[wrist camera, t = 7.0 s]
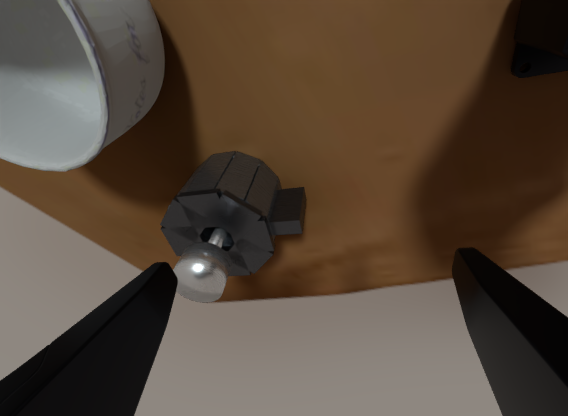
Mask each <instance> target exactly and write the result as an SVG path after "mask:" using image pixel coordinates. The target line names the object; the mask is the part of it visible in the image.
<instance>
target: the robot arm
mask: <svg viewBox="0 0 568 416" xmlns="http://www.w3.org/2000/svg"><path fill="white" fill-rule="evenodd" d="M514 39H515V40H516V41H517V43H516V48H515V52H514V56H513V61H512V65H511V73H512V74H513V75H514V76H516V77H519V78H525V77H531V76H537V75H543V74H549V73H556V72H562V71H568V0H522V4H521V9H520V13H519V17H518V22H517V26H516V31H515V35H514ZM524 63H527V66H526V68H525V69H524V70H522V71H520V67H521V66H522V65H523V64H524ZM452 275H453V279H454V283H455V286H456V290H457V294H458V297H459V301H460V305H461V308H462V312H463V315H464V319H465V322H466V326H467V329H468V331H469V334H470V337H471V339H472V342H473V344H474V347H475V349H476V351H477V354H478V356H479V358H480V361H481V364H482V366H483V369H484V371H485V373H486V376H487V378H488V381H489V383H490V386H491V388H492V391H493V393H494V396H495V398H496V400H497V403H498V405H499V408H500V410H501V413H502V415H503V416H568V317H566V316H565V315H564V314H562V313H561V312H560V311H558V310H557V309H556V308H554V307H553V306H552V305H550V304H549V303H548V302H546V301H545V300H544V299H542V298H541V297H540V296H538V295H537V294H536V293H534V292H533V291H532V290H530V289H529V288H528V287H526V286H525V285H524V284H522V283H521V282H519V281H518V280H517V279H515V278H514V277H513V276H512V275H510V274H509V273H507V272H506V271H505V270H503V269H502V268H501V267H499V266H498V265H497V264H495V263H494V262H493V261H491V260H490V259H489V258H487V257H486V256H485V255H483V254H482V253H481V252H479V251H478V250H477V249H475V248H472V247H470V248H458V249H456V251H455V256H454V261H453V266H452ZM177 285H178V278H177V276H176V274H175V273H174V271H173V270H172V268H171V267H170V265H169V264H168V263H167V262H157V263H154V264H153V265H151V266H150V267H149V268H147V269H146V270H145V271H143V272H142V273H141V274H140V275H138V276H137V277H136V278H134V279H133V280H132V281H131V282H129V283H128V284H127V285H125V286H124V287H123V288H121V289H120V290H119V291H118V292H116V293H115V294H114V295H112V296H111V297H110V298H109V299H107V300H106V301H105V302H103V303H102V304H101V305H100V306H98V307H97V308H96V309H94V310H93V311H92V312H90V313H89V314H88V315H86V316H85V317H84V318H83V319H81V320H80V321H79V322H77V323H76V324H75V325H73V326H72V327H71V328H70V329H68V330H67V331H66V332H64V333H63V334H62V335H61V336H59V337H58V338H57V339H55V340H54V341H53V342H52V343H51V344H50V345H47V346H46V347H45V348H44V349H42V350H41V351H40V352H38V353H37V354H36V355H35V356H33V357H32V358H31V359H29V360H28V361H27V362H25V363H24V364H23V365H21V366H20V367H19V368H17V369H16V370H15V371H13V372H12V373H10V374H9V375H8V376H6V377H5V378H3V379H2V380H1V381H0V416H134V414H135V411H136V408H137V406H138V403H139V400H140V398H141V395H142V392H143V390H144V387H145V384H146V381H147V379H148V376H149V373H150V370H151V368H152V365H153V362H154V360H155V357H156V354H157V351H158V349H159V346H160V343H161V341H162V337H163V335H164V332H165V329H166V326H167V323H168V320H169V316H170V312H171V308H172V304H173V300H174V297H175V293H176V289H177Z"/></svg>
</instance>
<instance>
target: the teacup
mask: <svg viewBox="0 0 568 416" xmlns="http://www.w3.org/2000/svg"><path fill="white" fill-rule="evenodd" d="M164 68H165V56H164V46H163V40H162V35H161V31H160V27H159V24H158V21H157V19H156V16H155V13H154V10H153V8H152V6H151V3H150V1H149V0H0V158H1V159H4V160H6V161H9V162H12V163H15V164H18V165H21V166H24V167H29V168H33V169H38V170H43V171H68V170H72V169H75V168H78V167H80V166H83V165H85V164H87V163H89V162H90V161H92V160H93V159H94V158H95V157H96V156H97V155H98V154H99V153H100V152H101V150H102V149H103V148H104V147H106V146H107V145H109V144H110V143H111V142H113V141H114V140H116V139H117V138H118V137H120V136H121V135H123V134H124V133H125V132H127V131H128V130H129V129H130V128H131V127H133V126H134V125H135V124H136V123H137V122H138V121H140V120H141V119H142V118H143V117H144V116H145V115H146V114H147V112H148V111H149V110H150V109H151V107H152V106H153V104H154V103H155V101H156V99H157V97H158V95H159V92H160V90H161V87H162V83H163V78H164Z"/></svg>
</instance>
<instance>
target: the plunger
mask: <svg viewBox="0 0 568 416" xmlns="http://www.w3.org/2000/svg"><path fill="white" fill-rule="evenodd" d="M227 233H228V232H227V231H225V230H223V229H221V228H219V227H215V229H214V231H213V233H212V235H211V238H210V240H209V242H195V243H192V244H190V245H188V246H187V247H186V248H185V250H184V252H183V254H182V256H181V257H180V259H179V261H178V263H177V265H176V266H175V268H174V270H173V271H174V273H175V274H176V276H177V278H178V285H177V289H176V292H177V293H179V294H180V295H181V296H183V297H185V298H187V299H189V300H192V301H196V302H202V303H208V302H213V301H216V300H218V299H219V298H220V297H221V295H222V293H223V290H224V287H225V284H226V281H227V279H228V276H229V273H230V270H231V267H232V260H231V258H230V256H229V255H228V253H227V252H226V251H225V250H223V249H222V248H221V247H222V245H223V242H224V240H225V238H226V235H227Z"/></svg>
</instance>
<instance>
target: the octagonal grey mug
mask: <svg viewBox="0 0 568 416" xmlns="http://www.w3.org/2000/svg"><path fill="white" fill-rule="evenodd" d="M305 206H306V195H305V190H304V187H299V188H290V189H281V185H280V181H279V179H278V177H277V176H276V174H275V173H274V172H273V171H272V170H271V169H270V168H269V167H268V166H267V165H266V164H265V163H264V162H263V161H260V159H257V158H254V157H252V156H249V155H246V154H243V153H240V152H238V151H237V152H236V151H233V152H226V153H219V154H213V155H211V156H210V157H209V158H208V159H207V160H205V161H204V162H203V163H202V164H201V165H200V166H199V167H198V168H197V169H196V170H195V172H194V173H193V174H192V176H191V177H190V178H189V180H188V181H187V182H186V184H185V185H184V186H183V188H182V189H181V190H180V192H179V193H178V194H177V195H176V196H175V197H174V199H173V200H172V202H171V204H170V205H169V207H168V210H167V212H166V214H165V216H164V218H163V220H162V222H161V224H160V225H161V226H162V227H161V230H162V232H163V234H164V235H165V237H166V239H167V240H168V242H169V244H170V245H171V247H172V249H173V250H174V252H175V254H176V255H177V256H182V254H183V252H184V250H185V248H186V247H187V246H188V245H190V244H192V243H195V242H209V240H210V238H211V235H212V233H213V231H214V229H215V227H219V228H221V229H223V230H225V231H227V232H228V233H227V235H226V238H225V240H224V242H223V245H222V247H221V248H222V249H223V250H225V251H226V252H227V253H228V255H229V256H230V258H231V260H232V267H231V270H230V273H229V276H239V275H251V272H252V273H254V274H255V273H256V271H257V270H258V269H259V268H260V267H261V266H262V265H263V264H264V263H265V262H266V261H267V260H268V259H269V258H270V257H271V256H272V255H273V253H274V249H275V243H274V240H275V235H286V234H301V233H302V231H303V223H304V215H305Z"/></svg>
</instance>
